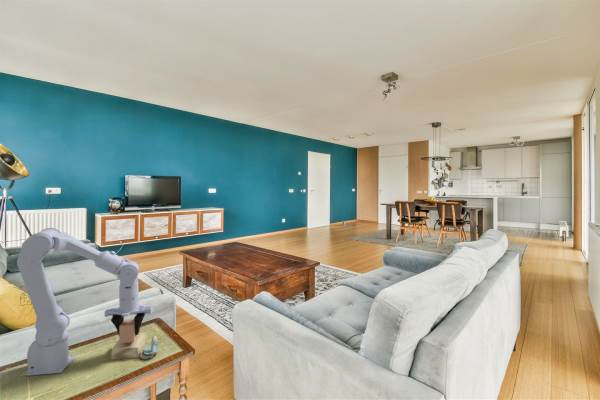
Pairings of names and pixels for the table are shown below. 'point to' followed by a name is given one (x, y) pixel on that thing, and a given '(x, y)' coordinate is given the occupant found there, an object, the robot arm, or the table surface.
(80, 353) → the table surface
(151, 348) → the pacifier
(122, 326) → the terracotta block
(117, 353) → the birch block
